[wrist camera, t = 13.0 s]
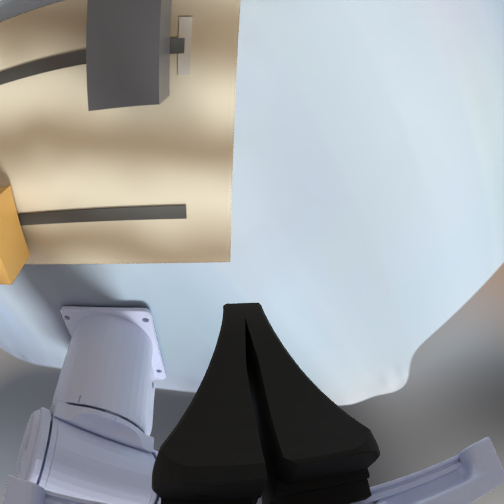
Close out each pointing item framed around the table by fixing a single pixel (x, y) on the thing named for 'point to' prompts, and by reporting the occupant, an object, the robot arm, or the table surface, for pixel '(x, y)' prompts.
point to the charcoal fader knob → (127, 52)
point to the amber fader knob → (10, 239)
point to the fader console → (119, 142)
